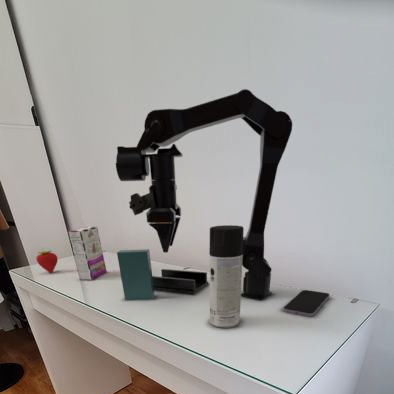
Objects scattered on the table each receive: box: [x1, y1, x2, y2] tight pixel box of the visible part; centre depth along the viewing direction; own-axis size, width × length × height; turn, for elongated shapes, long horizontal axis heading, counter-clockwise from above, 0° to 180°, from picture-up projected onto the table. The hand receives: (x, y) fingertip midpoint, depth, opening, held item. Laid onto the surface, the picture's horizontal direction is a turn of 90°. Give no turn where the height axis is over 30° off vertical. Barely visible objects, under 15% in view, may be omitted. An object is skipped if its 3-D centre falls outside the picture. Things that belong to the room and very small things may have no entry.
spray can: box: [208, 224, 245, 329], centre depth 59 cm, size 7×7×20 cm
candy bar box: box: [68, 225, 108, 281], centre depth 101 cm, size 11×5×16 cm, turn 168°
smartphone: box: [282, 289, 331, 317], centre depth 72 cm, size 7×1×15 cm
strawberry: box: [36, 248, 58, 274], centre depth 110 cm, size 6×8×10 cm
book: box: [116, 248, 156, 301], centre depth 78 cm, size 3×8×13 cm, turn 87°
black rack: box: [152, 268, 209, 296], centre depth 88 cm, size 16×11×4 cm
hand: (168, 248), depth 75 cm, fingers open, 9 cm apart
